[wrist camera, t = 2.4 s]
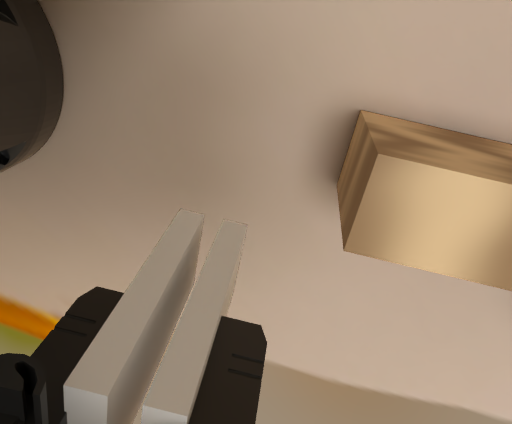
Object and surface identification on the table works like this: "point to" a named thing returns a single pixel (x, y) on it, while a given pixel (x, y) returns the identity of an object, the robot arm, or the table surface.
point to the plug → (428, 199)
